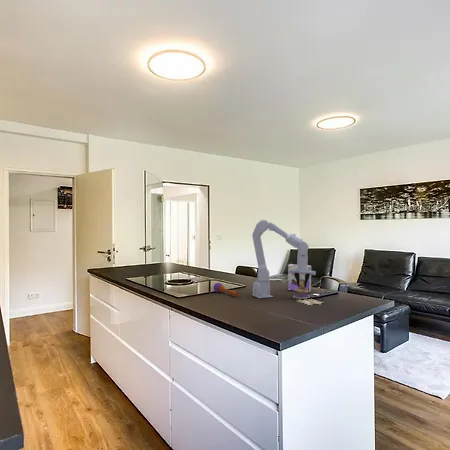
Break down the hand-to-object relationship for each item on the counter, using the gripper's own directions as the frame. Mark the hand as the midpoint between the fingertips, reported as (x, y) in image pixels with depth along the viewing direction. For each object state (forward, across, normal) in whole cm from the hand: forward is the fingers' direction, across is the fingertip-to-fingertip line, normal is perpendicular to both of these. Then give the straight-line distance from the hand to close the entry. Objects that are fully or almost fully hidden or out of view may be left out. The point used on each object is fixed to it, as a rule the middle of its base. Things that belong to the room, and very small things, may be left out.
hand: (301, 286), depth 182 cm
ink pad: (+6, 0, 0) cm, 6 cm away
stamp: (+3, 0, 0) cm, 3 cm away
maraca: (+7, -43, -7) cm, 44 cm away
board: (+6, +5, -10) cm, 13 cm away
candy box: (+7, -4, +21) cm, 23 cm away
